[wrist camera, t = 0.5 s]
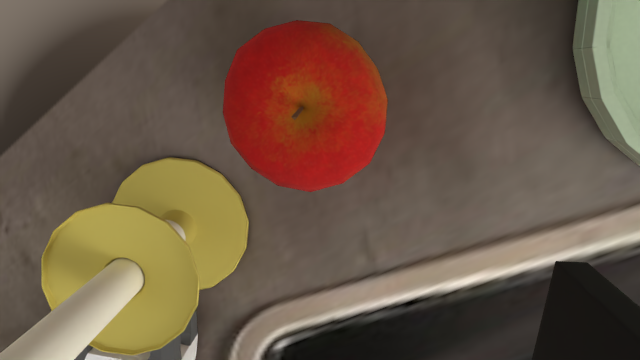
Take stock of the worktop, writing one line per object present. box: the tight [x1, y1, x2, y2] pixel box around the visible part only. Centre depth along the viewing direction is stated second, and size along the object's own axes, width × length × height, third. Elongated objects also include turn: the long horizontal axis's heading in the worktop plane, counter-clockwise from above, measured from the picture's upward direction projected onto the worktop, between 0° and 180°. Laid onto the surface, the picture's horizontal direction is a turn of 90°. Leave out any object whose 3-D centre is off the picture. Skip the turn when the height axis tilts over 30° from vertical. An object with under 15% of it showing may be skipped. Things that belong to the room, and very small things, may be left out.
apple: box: [223, 20, 388, 192], centre depth 28 cm, size 9×8×12 cm
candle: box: [0, 157, 249, 360], centre depth 23 cm, size 10×10×27 cm
